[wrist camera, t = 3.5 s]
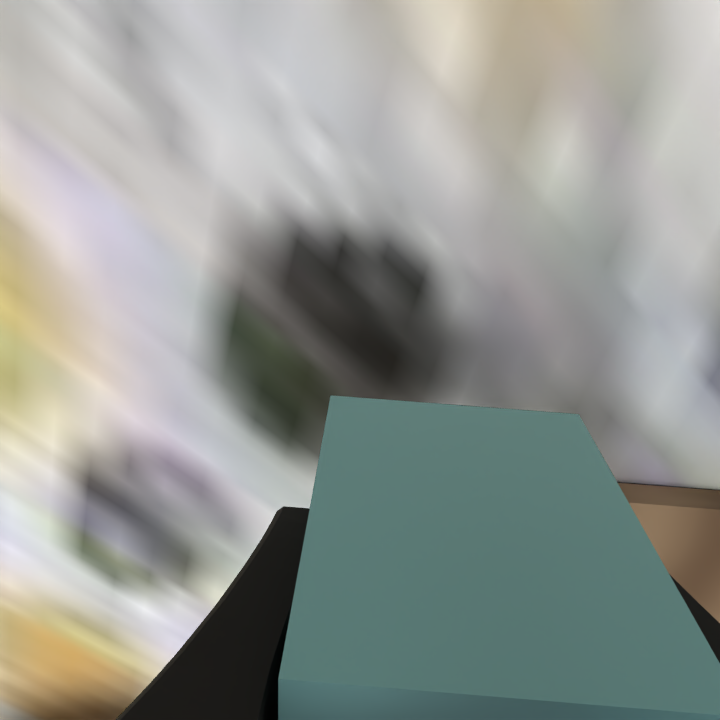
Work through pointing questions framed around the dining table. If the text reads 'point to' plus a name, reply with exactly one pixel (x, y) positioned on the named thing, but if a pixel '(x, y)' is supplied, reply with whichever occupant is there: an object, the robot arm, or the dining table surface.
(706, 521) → the shaft base
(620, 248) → the dining table surface
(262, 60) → the dining table surface
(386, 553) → the teal square sleeve
